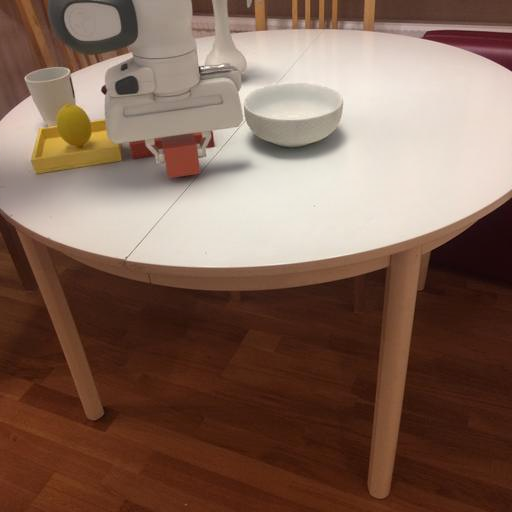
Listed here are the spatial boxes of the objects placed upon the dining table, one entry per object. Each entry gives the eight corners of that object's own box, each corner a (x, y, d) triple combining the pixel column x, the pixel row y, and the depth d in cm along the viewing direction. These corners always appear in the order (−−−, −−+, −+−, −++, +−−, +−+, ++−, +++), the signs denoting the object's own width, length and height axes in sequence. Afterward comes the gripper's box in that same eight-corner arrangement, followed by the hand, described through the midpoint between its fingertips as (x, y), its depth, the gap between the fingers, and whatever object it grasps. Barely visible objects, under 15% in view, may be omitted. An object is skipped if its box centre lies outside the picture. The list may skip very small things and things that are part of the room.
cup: (89, 126, 102) (75, 74, 96) (48, 138, 98) (31, 85, 92) (75, 113, 107) (61, 64, 101) (36, 124, 104) (19, 74, 98)
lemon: (70, 141, 95) (57, 98, 90) (99, 140, 95) (88, 96, 90) (60, 155, 91) (46, 110, 86) (91, 154, 90) (79, 109, 86)
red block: (168, 178, 81) (163, 148, 78) (165, 163, 85) (160, 134, 82) (200, 173, 82) (196, 143, 78) (196, 159, 85) (192, 130, 82)
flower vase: (258, 93, 110) (250, -42, 95) (180, 86, 116) (161, -42, 101) (278, 72, 120) (274, -53, 104) (206, 67, 126) (192, -53, 110)
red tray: (132, 159, 89) (129, 145, 88) (130, 128, 100) (127, 115, 98) (214, 146, 91) (213, 132, 90) (203, 117, 102) (202, 104, 100)
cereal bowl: (328, 165, 83) (329, 123, 79) (231, 154, 88) (227, 114, 84) (350, 122, 96) (353, 84, 91) (265, 115, 101) (263, 78, 97)
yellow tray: (35, 174, 87) (30, 159, 85) (43, 141, 97) (38, 128, 96) (121, 160, 89) (118, 146, 87) (120, 130, 99) (117, 116, 98)
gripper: (235, 55, 78) (241, 141, 86) (95, 71, 75) (115, 159, 83) (244, 68, 73) (250, 158, 81) (94, 86, 70) (116, 178, 78)
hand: (181, 159), depth 82 cm, fingers closed on red block, 5 cm apart
